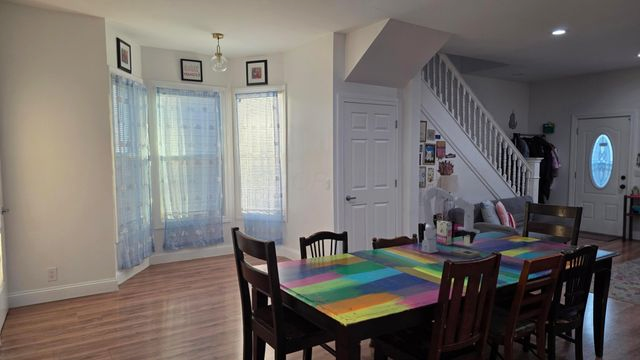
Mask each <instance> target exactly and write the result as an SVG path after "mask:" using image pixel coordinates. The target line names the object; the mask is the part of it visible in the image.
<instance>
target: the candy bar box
mask: <svg viewBox="0 0 640 360" xmlns="http://www.w3.org/2000/svg"><path fill="white" fill-rule="evenodd" d="M436 230H437V234H436V244H440V245H445V246H451V245H452V240H453V239H452V232H453V222H451V221H448V220H447V221H446V220H441V219H440V220H436Z"/></svg>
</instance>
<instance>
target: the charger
mask: <svg viewBox="0 0 640 360" xmlns="http://www.w3.org/2000/svg"><path fill="white" fill-rule="evenodd" d="M463 246H465V247H472V246H474V242H473V243H472V244H471V243H470V235H468V234H467V236H464V240H463Z"/></svg>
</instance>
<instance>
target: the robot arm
mask: <svg viewBox="0 0 640 360" xmlns="http://www.w3.org/2000/svg"><path fill="white" fill-rule="evenodd" d="M438 196H439V197H444V198H446V199H448V200H449V201H451V202H452V203H453V205H455V206H456V207H458V208H459V209H461V210H463V211H464V216H463V217H464V220H463V226H457V231H460V234H461V236H462V239H463V241H464V236H467V235H468V234H469V235H468V236H470V243H471V244H472V243H473V244H474V240H475V238H476V236H477V234H481V233H480V232H481V231H480V230H479V229H476V228H474V221H475V220H474V219H475V215H474V214H475V213H474V211H475V205H474V204H473V203H472V202H469V201H467V200H465V199H463V197H462V196H460V197H459V196H454V195H453V194H451V193H449V192H448V191H446V190H445V189H443V188H441V187H438V186H436V185H433V186H430V187H428V188H427V189H425V192H424V194H423V197H422V204H423V206H422V207H423V211H424V219H425V231H424V239H423V240H422V242H421V249H420V251H421V252H423V253H427V254H433V253H437V252H439V250H440V249H439V250H438V249H437V242H436V238H437V228H436V225H435V224H434V218H433V217H434V216H433V210H432V202H431V201H432V200H433V198H434V197H438ZM468 232H469V233H468Z"/></svg>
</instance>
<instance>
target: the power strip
mask: <svg viewBox="0 0 640 360" xmlns="http://www.w3.org/2000/svg"><path fill="white" fill-rule="evenodd" d="M450 255H453V256H456V257H462V258H465V259H469V258H470V259H473V258H477V257H480V256H481V252H480V251H475V250H471V249H464V248H457V249H454V250H451V251H450Z"/></svg>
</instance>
